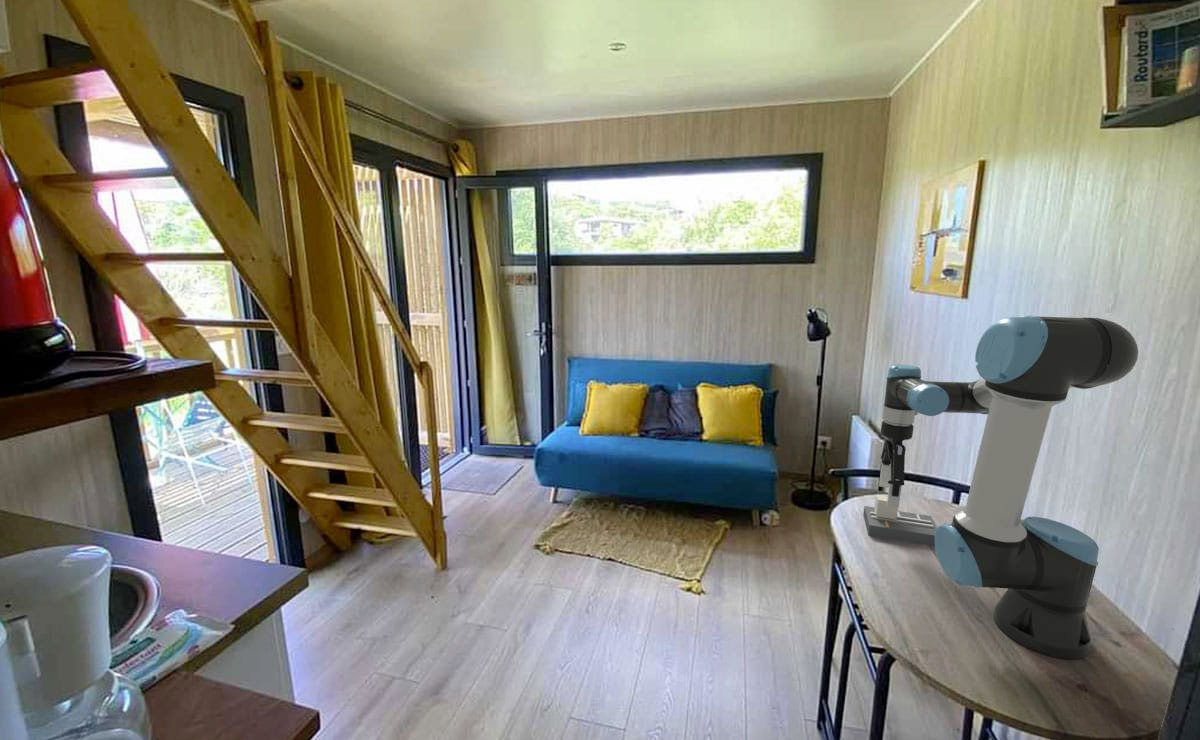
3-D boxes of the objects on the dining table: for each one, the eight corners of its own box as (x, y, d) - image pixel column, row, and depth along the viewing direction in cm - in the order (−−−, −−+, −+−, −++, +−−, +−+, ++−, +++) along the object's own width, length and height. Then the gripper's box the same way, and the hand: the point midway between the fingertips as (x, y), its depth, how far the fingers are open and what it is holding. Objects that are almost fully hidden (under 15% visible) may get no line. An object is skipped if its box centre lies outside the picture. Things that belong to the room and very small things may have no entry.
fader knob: (896, 521, 145) (898, 502, 144) (875, 518, 147) (878, 499, 146) (893, 515, 149) (896, 497, 148) (874, 512, 150) (876, 494, 149)
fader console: (939, 547, 139) (941, 535, 138) (868, 535, 145) (869, 523, 144) (929, 525, 150) (931, 514, 149) (863, 515, 156) (864, 504, 155)
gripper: (924, 437, 129) (913, 518, 133) (904, 411, 152) (895, 481, 156) (889, 434, 132) (879, 513, 136) (875, 409, 155) (867, 477, 159)
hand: (888, 496), depth 146 cm, fingers open, 13 cm apart
